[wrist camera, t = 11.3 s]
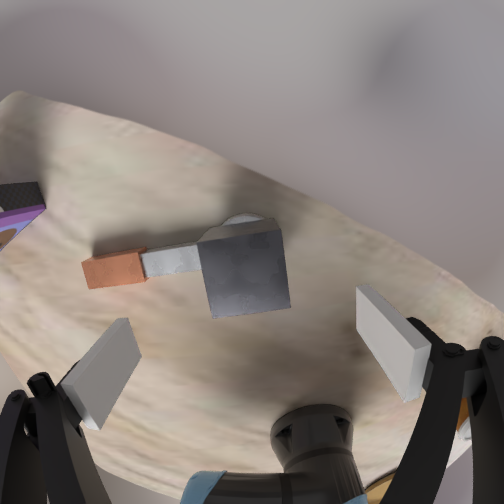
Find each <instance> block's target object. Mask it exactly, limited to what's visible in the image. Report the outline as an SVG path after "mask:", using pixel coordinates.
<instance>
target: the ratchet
mask: <svg viewBox="0 0 504 504" xmlns="http://www.w3.org/2000/svg"><path fill="white" fill-rule="evenodd" d="M262 219H265V218H264V217H262V216H260V215H257V214H253V213H241V214H237V215H234V216H232V217H230V218H229V219H227V220H226V221H225V222H224V223H223V224H222V225H221V226H223V225H229V224H236V223H242V222H249V221H255V220H262ZM196 242H197V241H195V242H189V243H183V244H177V245H171V246H166V247H160V248H154V249H148V250H147V249H146V247H142V248H137V249H131V250H126V251H120V252H115V253H109V254H104V255H99V256H94V257H91V258H89V259H87V260H85V261H83V262H81V263H82V267H83V271H84V274H85V278H86V281H87V285H88V288H89V289H95V288H103V287H110V286H118V285H126V284H133V283H141V282H145V281H146V280H147V279H149V278H150V277H153V276H160V275H167V274H174V273H181V272H188V271H195V270H202V268H201V263H200V258H199V253H198V248H197V243H196Z"/></svg>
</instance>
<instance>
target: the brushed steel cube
mask: <svg viewBox="0 0 504 504" xmlns="http://www.w3.org/2000/svg"><path fill="white" fill-rule="evenodd" d="M196 243H197V248H198V253H199V258H200V263H201V268H202V273H203V277H204V282H205V287H206V291H207V296H208V300H209V305H210V309H211V313H212V318H221V317H230V316H237V315H245V314H252V313H260V312H267V311H273V310H280V309H286V308H291V305H290V296H289V288H288V279H287V271H286V263H285V255H284V248H283V240H282V233H281V229H280V227H279V225H278V224H277V222H276V221H275V219H274V218H269V219H262V220H255V221H249V222H242V223H236V224H229V225H223V226H217V227H211V228H209V229H208V230H207V232H206V233H205V234H204V235H203V236H202V237H201V238H200V239H199V240H198V241H197V242H196Z"/></svg>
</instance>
